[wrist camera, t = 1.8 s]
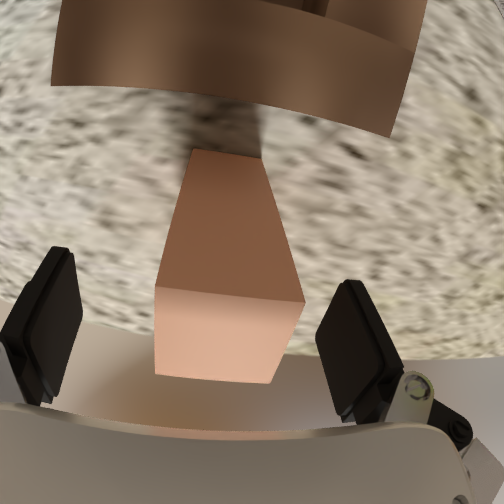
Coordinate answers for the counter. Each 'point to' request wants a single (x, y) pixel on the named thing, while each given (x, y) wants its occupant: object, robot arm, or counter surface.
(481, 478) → the robot arm
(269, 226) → the peg
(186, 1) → the socket block
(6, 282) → the counter surface
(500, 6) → the coffee box
